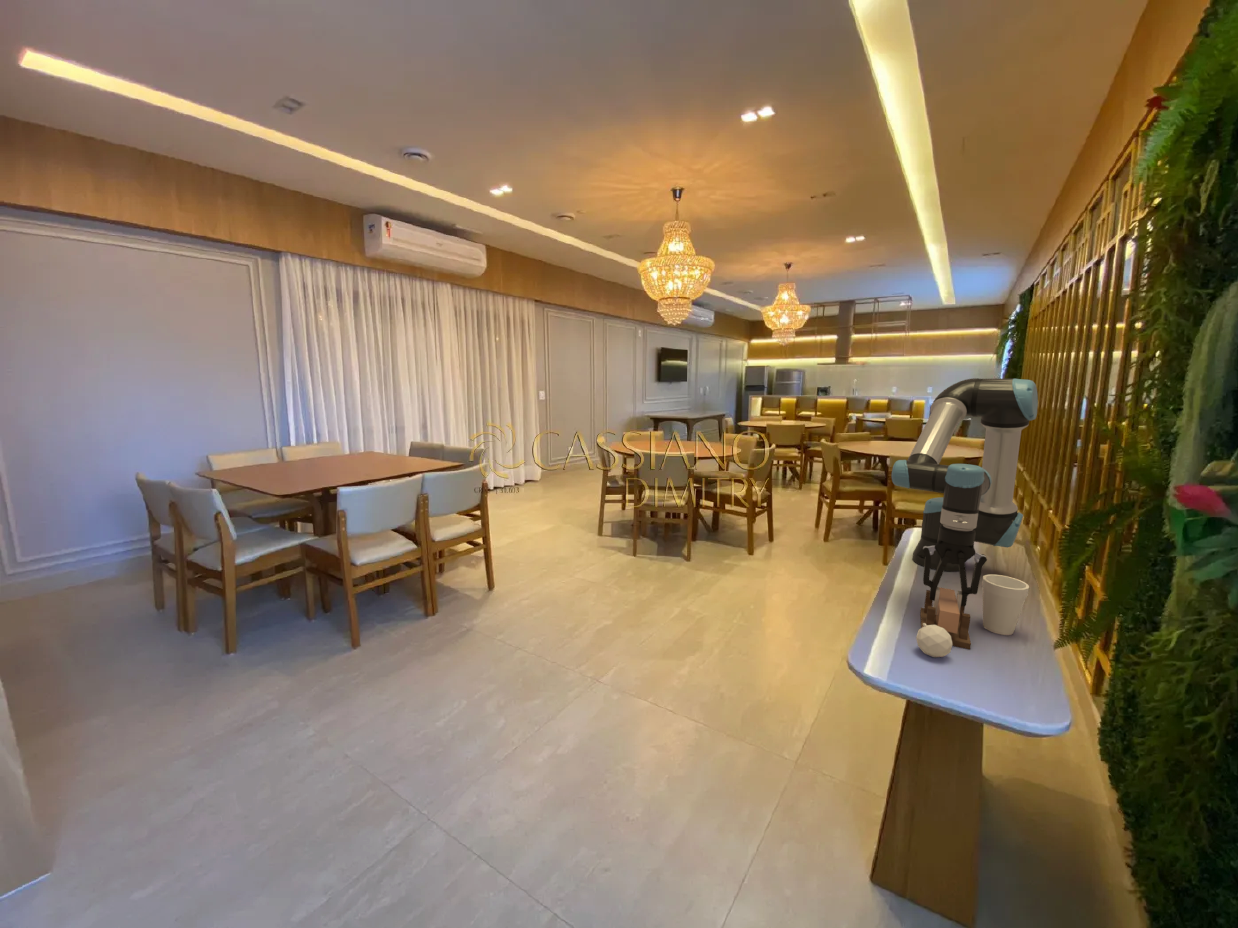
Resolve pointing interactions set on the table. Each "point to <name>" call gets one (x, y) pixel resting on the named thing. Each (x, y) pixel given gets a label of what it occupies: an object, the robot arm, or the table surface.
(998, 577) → the foam cup
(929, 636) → the cream rounded egg shape
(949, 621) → the clay bar
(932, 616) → the rack
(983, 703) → the table surface
